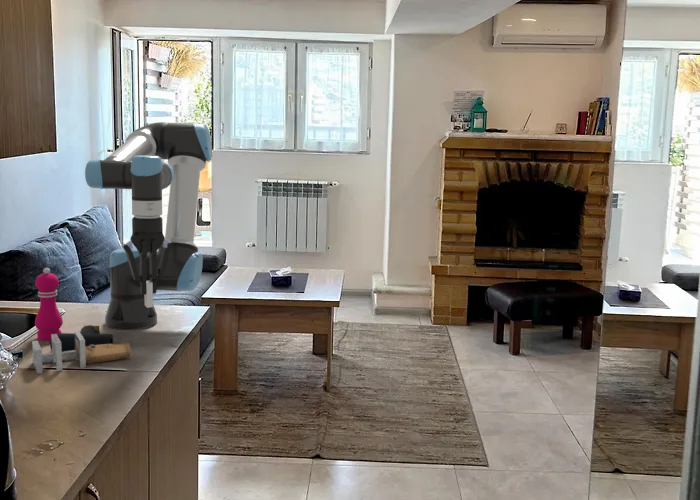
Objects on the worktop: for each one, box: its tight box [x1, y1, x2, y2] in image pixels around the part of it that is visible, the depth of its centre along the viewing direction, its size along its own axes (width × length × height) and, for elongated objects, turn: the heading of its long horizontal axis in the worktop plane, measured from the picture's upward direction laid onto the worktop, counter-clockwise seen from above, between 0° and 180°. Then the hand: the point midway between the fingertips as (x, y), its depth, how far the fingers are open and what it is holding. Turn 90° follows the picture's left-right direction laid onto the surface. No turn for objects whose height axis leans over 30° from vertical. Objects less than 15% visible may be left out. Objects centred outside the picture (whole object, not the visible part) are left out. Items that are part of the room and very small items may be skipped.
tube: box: [78, 341, 131, 364], centre depth 190 cm, size 12×4×4 cm, turn 119°
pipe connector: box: [49, 324, 114, 352], centre depth 200 cm, size 12×5×15 cm
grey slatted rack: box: [31, 331, 87, 375], centre depth 185 cm, size 11×9×7 cm
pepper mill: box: [34, 267, 64, 342], centre depth 206 cm, size 7×7×20 cm
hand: (148, 306), depth 193 cm, fingers closed
